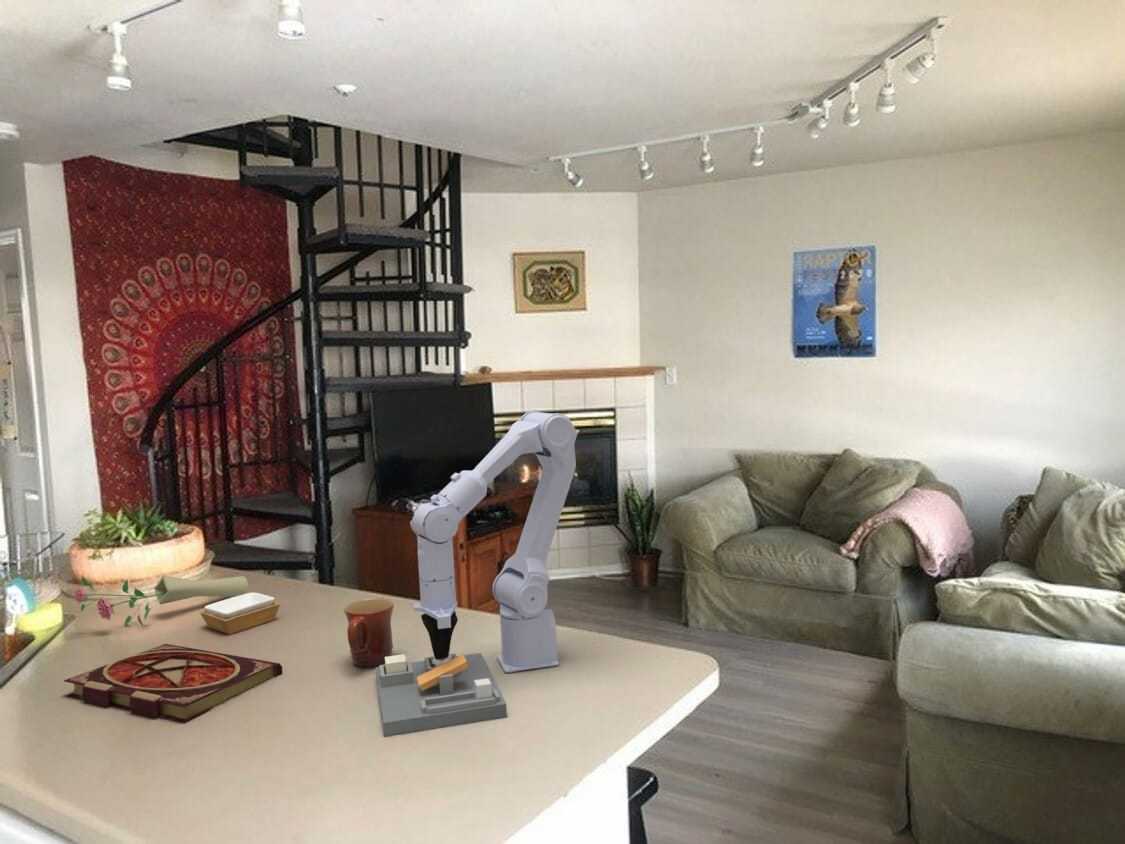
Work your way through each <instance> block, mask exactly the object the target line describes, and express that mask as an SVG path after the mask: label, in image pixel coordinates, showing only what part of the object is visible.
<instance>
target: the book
mask: <svg viewBox="0 0 1125 844" xmlns="http://www.w3.org/2000/svg"><path fill="white" fill-rule="evenodd" d="M282 674H283V666H282V665H281V663H279V662H273V661H269V660H262V659H256V658H249V657H245V656H237V655H234V654H233V655H232V654H229V653H227V654H226V653H221V652H217V651H209V650H203V649H199V648H198V649H197V648H194V647H193V648H192V647H187V646H181V645H173V644H169V643H164V644H162V645H159V646H155V647H153V648H150V649H147V650H145V651H142V652H138V653H136V654H131V655H129V656H125V657H122V658H119V659H116V660H114V661H112V662H110V663H108V664H106V665H103V666H100V667H97V668H95V669H92V670H89V671H86V672H83V673H80V674H78V675H74V676H73V677H70V678H67V679H63V682H64V683H68V684H73V687H74V688H73V689H74V690H73V692H72V693H69V694H66V695H64V697H65V698H69V699H74V700H78V701H83V704H87V705H90V706H91V705H92V706H94V707H95V706H96V707H100V708H104V709H109V708H114V709H117V710H118V709H119V710H122V711H127V712H130V714H131V715H135V716H139V717H145V718H148V719H152V720H158V719H162V720H166V721H172V722H176V723H180V724H183V725H184V724H187V723H189V722H191V721H194V720H195V719H196V718H199V717H201V716H203V715H205V714H207V713H209V711H211V710H212V709H214V707H216V706H218V705H219V704H222V703H223V702H225V701H227V700H229V699H231V698H234V697H235V696H237V695H240V694H242V693H243V692H245V691H247V690H249V689H251V688H253V687H255V686H257V685H259V684H260V683H263V682H265V681H266V680H269V679H271V678H272V677H279V676H281V675H282Z"/></svg>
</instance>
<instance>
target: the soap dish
mask: <svg viewBox="0 0 1125 844" xmlns="http://www.w3.org/2000/svg"><path fill="white" fill-rule="evenodd" d="M275 600H276V599H275V598H274V597H273V596H270V595H266V594H262V593H259V592H247V593H246V594H243V595H240V596H236V597H228V598H226V599H223V600H219V601H216V602H213V603H211V604H207V605H205V606H204V608H203V609H204V610H203V611H201V612H200V616H201V617H202V618H203V620H204V621H205V623H206V625H207V626H208V628H209V629H212V630H215V631H219V632H221V633H224V634H227V635H230V636H231V635H233V634H236V633H238V632H241V631H244V630H246V629H250V628H253V627H256V626H259V625H263V624H265V623H270V622H273V621H275V619H276V617H277V616H276V615H277V613H278V611H279V609H280V605H281V604H280V602H279V603H278V602H276V601H275Z"/></svg>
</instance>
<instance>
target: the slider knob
mask: <svg viewBox="0 0 1125 844" xmlns="http://www.w3.org/2000/svg"><path fill="white" fill-rule="evenodd" d="M474 688H475V699H476V700H480V699H487V698H492V693H491V683H490V681H489V678H487V679H480V680H474Z"/></svg>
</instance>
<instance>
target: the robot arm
mask: <svg viewBox="0 0 1125 844" xmlns="http://www.w3.org/2000/svg"><path fill="white" fill-rule="evenodd" d="M570 419H571V418H569V417H568V416H567V415H565V414H562V413H558V412H556V413H549V412H548V413H547V412H541V411H538V410H530V411H528V412H525V413H524V414H523V415H522V416H521V417H520V419H519V420H516V421H515V422H514V423H513V424H512V425H511V427H510V428H509V430H508V432H507V433H505V435H504V436H503V437H502V438H501V439H500V440H499V442H498V443H496V444H495V446H494V447H492V449H491V450H490V451H489V452H488V454H486V455H485V457H484V458H482V460H481V461H480V462H479V463H478V464H477V465H476V466H475V467H474V469H472V470H466V469H465V470H461V471H460V472H459V473H457V472H454V473H453V474H452V475H451V476H450V479H451V480H450V482H449V483H448V484H447V485H446V486H445V487H443V489H441V490H440V491H439V493H437V494H433V495H432V496H431V497H430V500H431V501H430V502H427V503H423V504H421V505H420V506H418V507H417V508H416V510H414V513H413V516H412V519H411V520H410V521H409V523H410V528H411V530H412V531H413V532H414V533H415V535H416V539H417V540H416V541H417V560H418V561H417V562H418V563H417V564H418V579H419V594H420V595H419V596H420V603H419V602H418V603H414V604H413V606H412V607H413V611H414V612H422V613H423V614H421V615H420V617H421V620H422V624H423V626H424V628H425V629H426V631H427V633H428V636H429V641H430V644H431V649H432V652H433V655H434V656H435V659H442V658H448V655H449V654H450V649H451V641H452V636H453V633H454V630H455V627H457V626H456V625H457V623H458V619H459V618H458V616H457V613H456V609H457V608H458V601H457V597H456V596H457V595H456V581H455V580H456V579H455V563H454V562H455V561H454V559H455V558H454V547H453V544H454V542H453V537H455V536H456V534H457V532H458V530H459V523H460V521H462V520H463V518H465V517H466V516H467V515H468V514H469V513H470V512H471V511H472V510H473V509H474V508H475V507H476V506H477V505H478V504H479V503H481V501H482V500H483V499H484V498H485V497H486V496H487V492H488V484H489V483H491V482H492V481H493V480H494V479H495V478H496V477H497V476H498V475H499V474H501V473H502V472H503V471H504V470H505V469H507V468H508V467H509V466H510V465H511V464H512V463H513V462H515V461H516V460H517V459H518V458H519V457H520V456H522V455H524V454H526V455H527V454H532V453H533V454H534V455H535V456H536V457H537V459H538V462H539V465H541V467H542V470H541V474H540V478H539V480H538V484H537V485H536V489H535V493H534V495H533V498H532V501H531V502H532V503H531V505H530V507H529V508H530V509H529V511H528V514H527V517H526V520H525V524H524V526H523V529H522V532H521V535H520V538H519V541H518V544H517V547H516V550H515V553H514V554H513V555H512V556H510V557H509V558H508V559H507V560H506V561H505V563H504V566H503V568H502V569H501V571H500V572H499V573H498V575H497V576H496V577H495V579H494V581H493V582H492V583H493V584H492V595H493V596H494V597H493V598H495V600H496V601H497V603H499V618H500V619H499V620H500V638H501V641H500V642H501V653H498V654H496V658H497V660H498V662H499V664H500V666H501V667H502V670H503V671H504V673H512V672H513V673H515V672H519V671H526V670H535V669H539V668H540V669H541V668H549V667H555V666H559V665H560V664H559V659H558V643H557V641H558V639H557V638H558V637H557V624H556V619H555V615H554V612H553V610H552V609H550V608H547V609H546V606H547V603H548V600H549V599H548V598H549V596H548V595H549V593H548V586H549V581H550V574H549V572H548V567H547V565H546V561H547V558H548V555H549V552H550V549H551V545H552V543H553V540H554V536H555V533H556V530H557V527H558V524H559V521H560V518H561V515H562V511H563V508H564V505H565V504H566V503H565V502H566V499H567V496H568V493H569V491H570V487H571V484H572V482H573V481H572V480H573V478H574V474H575V472H576V467H577V465H576V464H577V460H576V448H575V447H576V446H575V442H576V439H577V437H578V432H577V430H576V428H575V426H574V425H573V423H572V421H571V420H570Z"/></svg>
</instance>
